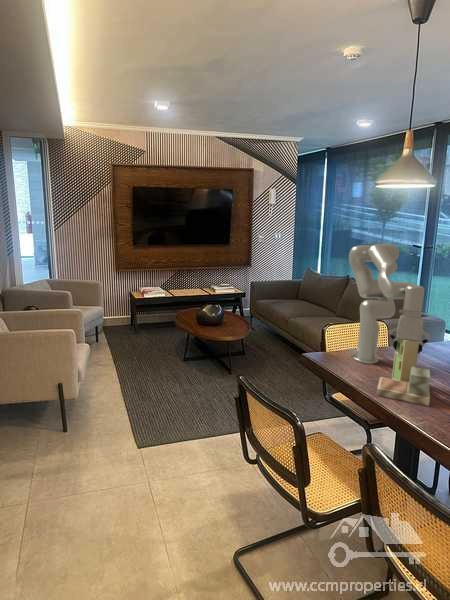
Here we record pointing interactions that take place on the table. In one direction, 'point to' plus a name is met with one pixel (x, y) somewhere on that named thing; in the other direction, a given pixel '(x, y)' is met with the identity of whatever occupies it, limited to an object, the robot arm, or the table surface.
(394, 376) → the toy refrigerator
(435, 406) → the table surface
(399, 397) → the board
